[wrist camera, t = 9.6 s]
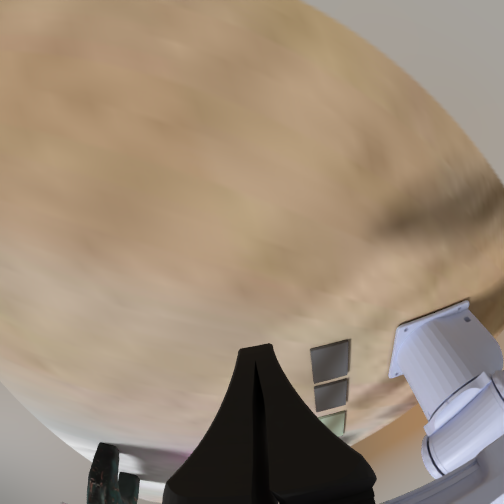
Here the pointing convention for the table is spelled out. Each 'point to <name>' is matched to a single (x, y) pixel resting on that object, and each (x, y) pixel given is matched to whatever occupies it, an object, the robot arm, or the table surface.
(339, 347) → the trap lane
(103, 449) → the ceramic cat
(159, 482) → the table surface
